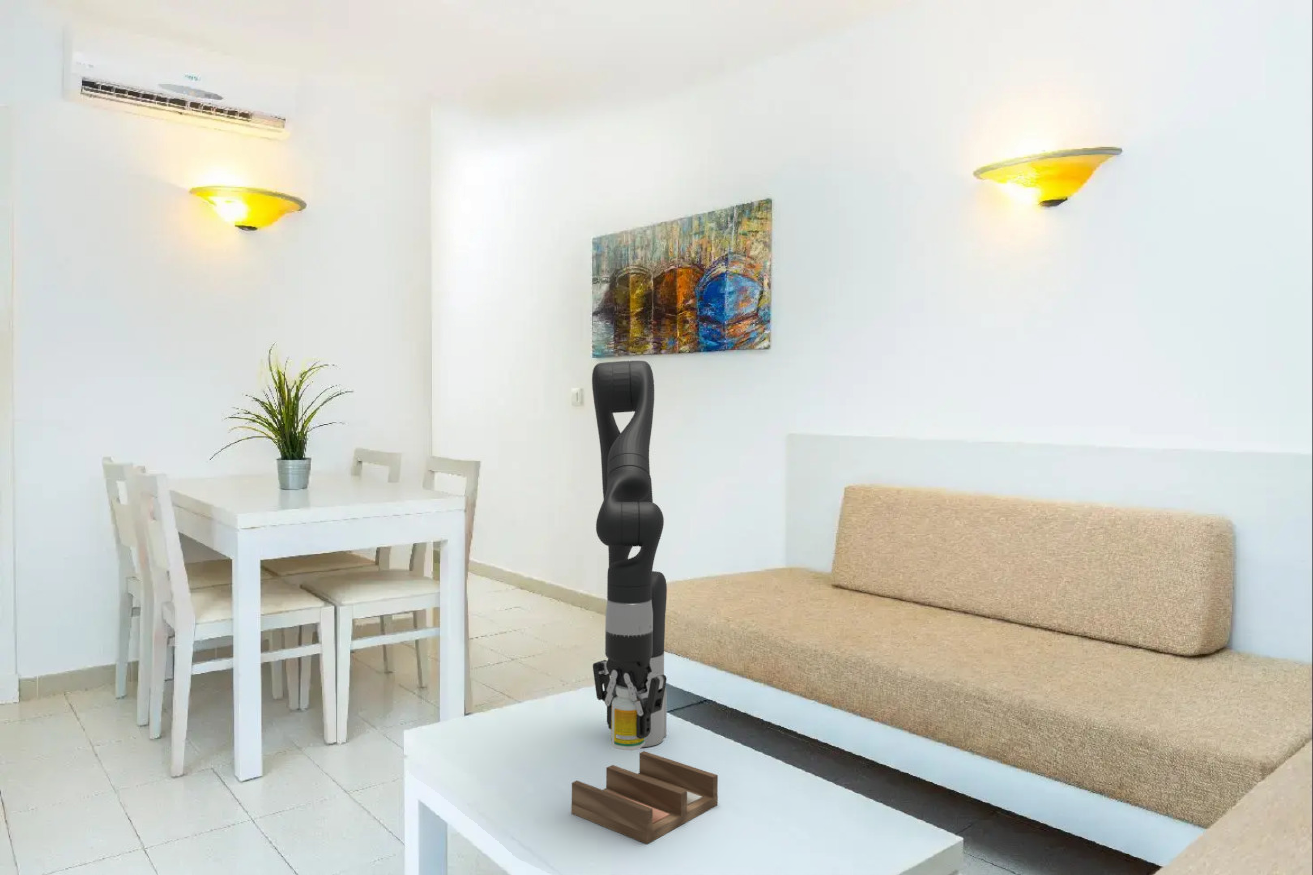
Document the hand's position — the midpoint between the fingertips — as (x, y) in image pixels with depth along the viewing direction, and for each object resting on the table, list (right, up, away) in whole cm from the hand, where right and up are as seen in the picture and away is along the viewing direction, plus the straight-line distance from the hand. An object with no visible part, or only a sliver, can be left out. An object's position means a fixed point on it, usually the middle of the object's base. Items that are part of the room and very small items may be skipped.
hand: (628, 732), depth 150 cm
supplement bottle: (0, -2, 0) cm, 2 cm away
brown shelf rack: (+3, -14, +4) cm, 15 cm away
